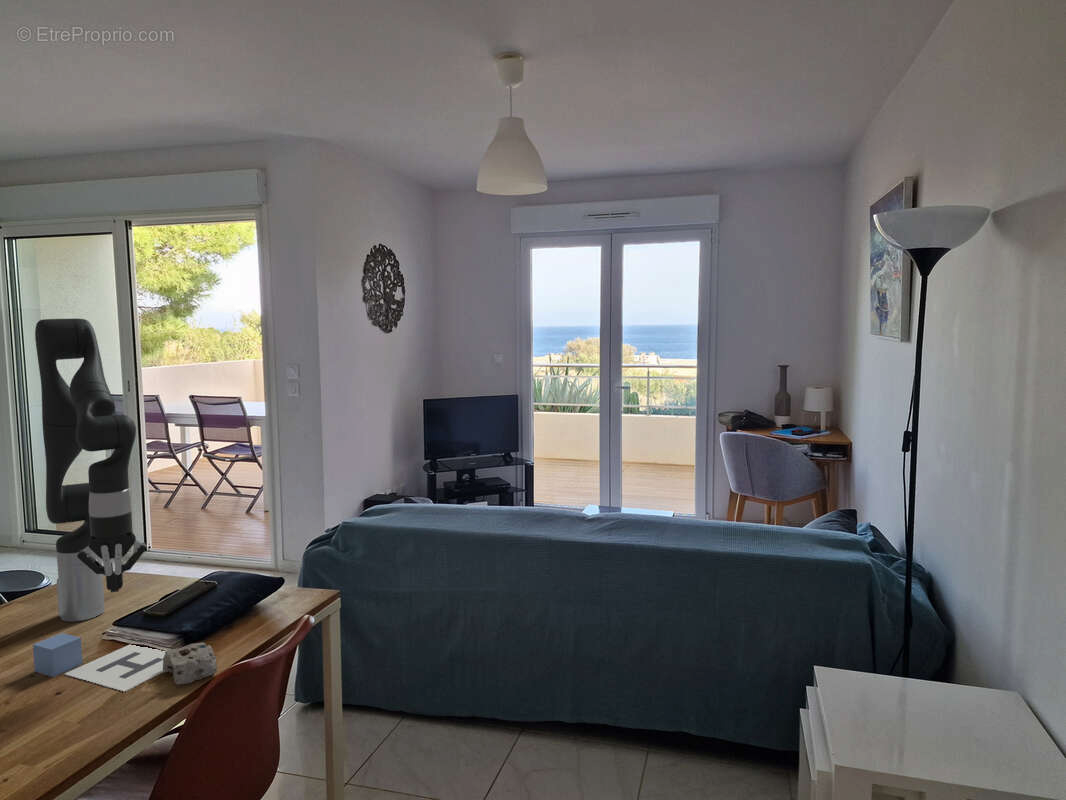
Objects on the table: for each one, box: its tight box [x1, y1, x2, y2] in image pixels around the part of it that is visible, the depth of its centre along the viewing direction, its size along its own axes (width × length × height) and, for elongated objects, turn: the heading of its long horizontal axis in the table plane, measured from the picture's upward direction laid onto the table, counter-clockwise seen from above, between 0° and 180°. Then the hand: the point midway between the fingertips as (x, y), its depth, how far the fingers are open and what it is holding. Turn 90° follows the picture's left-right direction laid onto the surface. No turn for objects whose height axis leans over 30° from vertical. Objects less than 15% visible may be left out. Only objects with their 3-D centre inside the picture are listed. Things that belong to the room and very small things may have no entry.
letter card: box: [63, 643, 166, 693], centre depth 146 cm, size 18×16×1 cm
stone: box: [163, 641, 218, 686], centre depth 143 cm, size 13×6×10 cm
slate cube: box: [32, 632, 83, 678], centre depth 145 cm, size 6×6×6 cm
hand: (115, 590), depth 145 cm, fingers closed
